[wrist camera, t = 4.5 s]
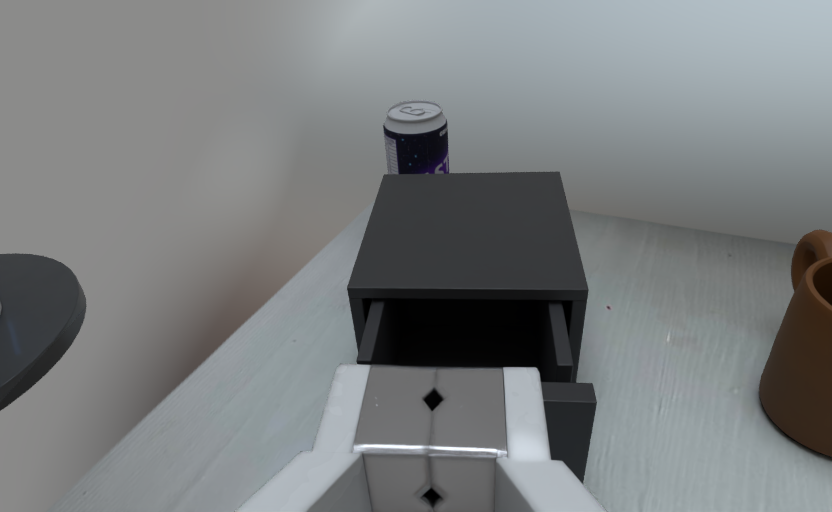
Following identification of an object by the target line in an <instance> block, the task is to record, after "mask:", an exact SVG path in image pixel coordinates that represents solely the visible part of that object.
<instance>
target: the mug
mask: <svg viewBox="0 0 832 512" xmlns="http://www.w3.org/2000/svg"><path fill="white" fill-rule="evenodd" d="M791 277H792V285H793V289H794V292H795V293H794V294H793V297H792V299H791V301H790V303H789V306H788V308H787V311H786V313H785V316H784V319H783V321H782V324H781V326H780V329H779V331H778V334H777V336H776V339H775V341H774V344H773V347H772V350H771V352H770V355H769V358H768V360H767V363H766V365H765V368H764V370H763V373H762V376H761V380H760V386H759V394H760V399H761V402H762V405H763V407H764V409H765V411H766V412H767V414H768V416H769V417H770V418H771V420H772V421H773V422H774V423H775V424H776V425H777V426H778V427H779V428H780V429H781V430H782V431H783V432H784V433H786V434H787V435H788V436H790V437H791V438H793V439H794V440H796V441H797V442H799V443H800V444H802V445H804V446H806V447H808V448H810V449H812V450H814V451H816V452H819V453H822V454H824V455H827V456H831V457H832V233H831V232H828V231H824V230H815V231H812V232H810V233H808V234H806V235H804V236H803V238H802V239H801V240H800V241H799V242H798V244H797V246H796V249H795V251H794V255H793V258H792V266H791Z"/></svg>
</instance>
